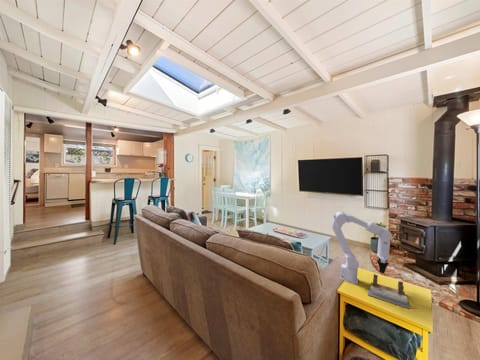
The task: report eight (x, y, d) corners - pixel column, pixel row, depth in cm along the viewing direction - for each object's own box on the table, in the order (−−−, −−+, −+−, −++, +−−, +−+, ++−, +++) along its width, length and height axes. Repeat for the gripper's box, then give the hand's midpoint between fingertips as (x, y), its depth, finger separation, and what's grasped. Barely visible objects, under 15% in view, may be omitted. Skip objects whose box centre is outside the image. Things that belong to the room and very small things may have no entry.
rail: (370, 292, 113) (370, 287, 113) (370, 290, 116) (370, 285, 116) (406, 304, 104) (407, 299, 104) (406, 301, 107) (406, 296, 106)
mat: (367, 295, 112) (367, 294, 112) (368, 288, 119) (368, 287, 119) (409, 309, 102) (409, 308, 102) (407, 300, 108) (407, 300, 108)
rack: (370, 287, 119) (371, 277, 119) (371, 283, 124) (371, 273, 124) (405, 298, 110) (406, 287, 110) (404, 293, 115) (405, 282, 114)
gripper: (392, 254, 112) (390, 277, 113) (391, 246, 124) (389, 267, 125) (377, 250, 117) (375, 273, 117) (377, 243, 128) (376, 264, 129)
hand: (382, 270), depth 121 cm, fingers open, 7 cm apart
